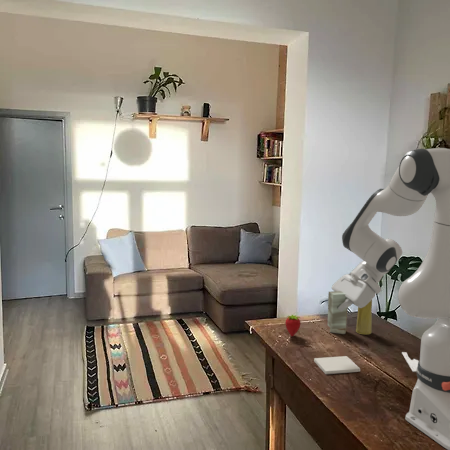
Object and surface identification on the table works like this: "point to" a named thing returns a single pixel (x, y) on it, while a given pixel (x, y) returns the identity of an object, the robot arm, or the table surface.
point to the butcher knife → (411, 362)
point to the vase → (364, 319)
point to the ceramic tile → (336, 365)
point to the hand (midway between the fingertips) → (335, 307)
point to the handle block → (336, 310)
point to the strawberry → (292, 324)
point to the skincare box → (340, 331)
